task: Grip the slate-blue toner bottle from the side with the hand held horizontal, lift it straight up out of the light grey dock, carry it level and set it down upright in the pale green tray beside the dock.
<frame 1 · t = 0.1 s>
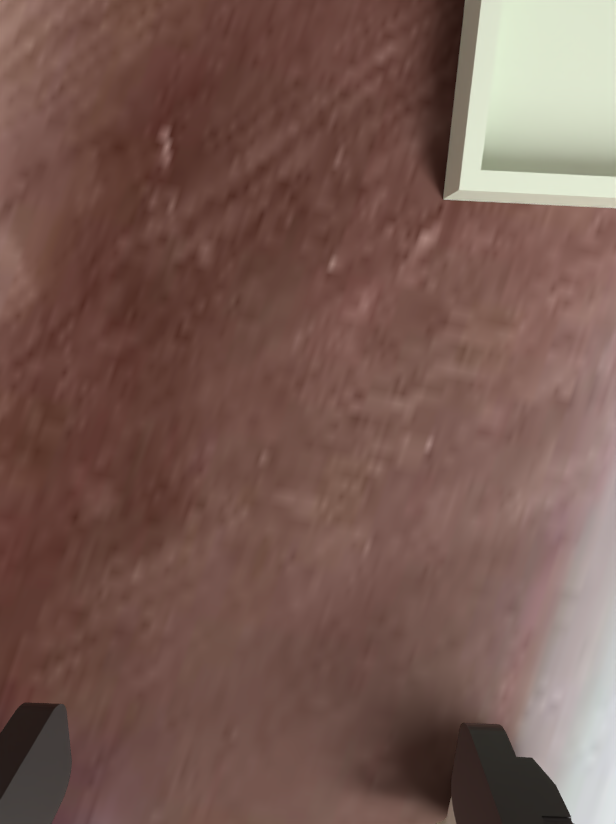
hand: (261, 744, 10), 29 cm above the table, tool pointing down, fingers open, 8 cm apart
tray: (614, 41, 32), on the table
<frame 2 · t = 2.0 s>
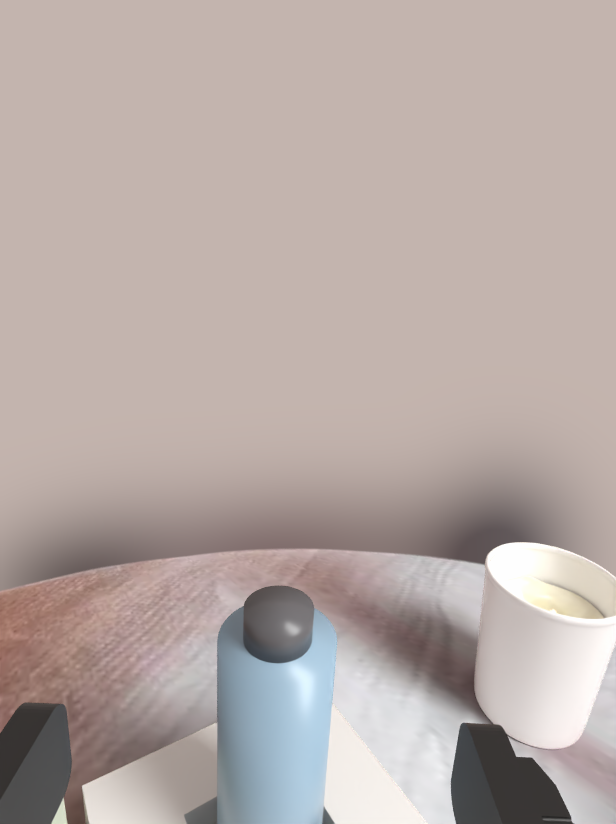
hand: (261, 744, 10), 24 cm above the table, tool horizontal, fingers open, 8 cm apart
candle holder: (525, 705, 40), on the table
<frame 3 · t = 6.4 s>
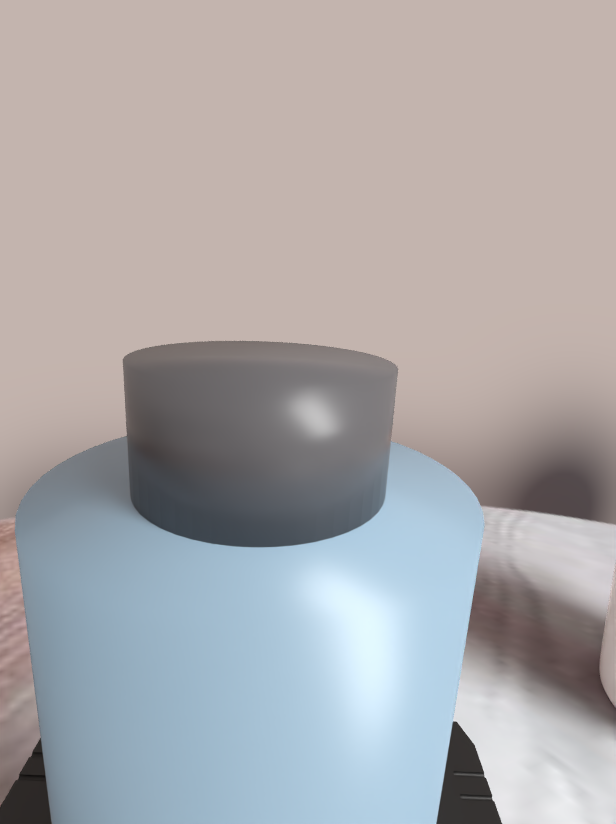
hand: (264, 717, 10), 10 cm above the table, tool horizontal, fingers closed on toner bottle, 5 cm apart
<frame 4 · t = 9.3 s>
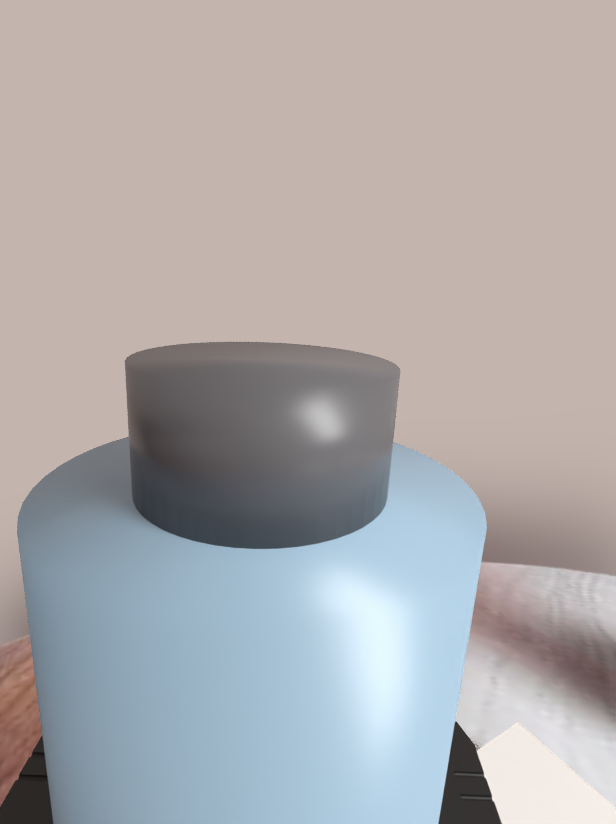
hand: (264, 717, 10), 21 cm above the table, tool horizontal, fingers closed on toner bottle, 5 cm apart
when the fingers open (11 cm above the table, at t = 12.5 s): toner bottle drops 1 cm, resting on tray.
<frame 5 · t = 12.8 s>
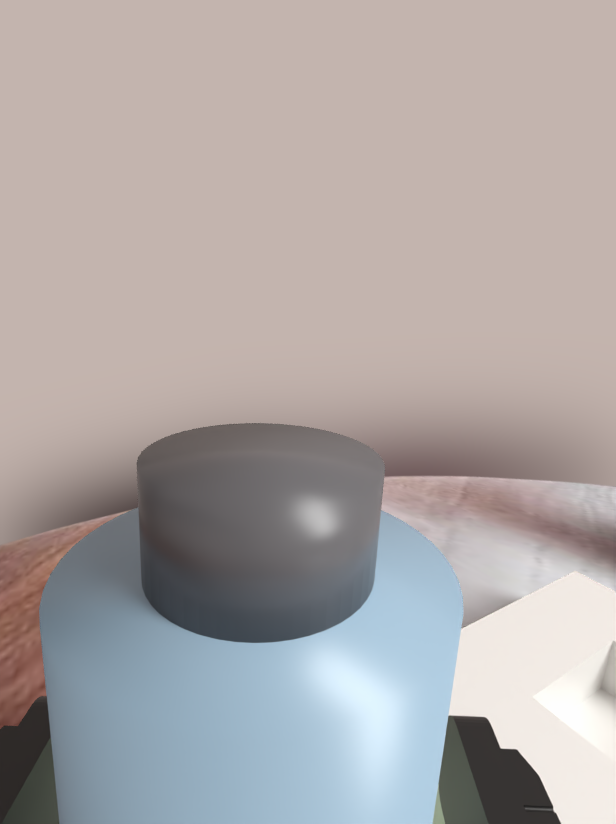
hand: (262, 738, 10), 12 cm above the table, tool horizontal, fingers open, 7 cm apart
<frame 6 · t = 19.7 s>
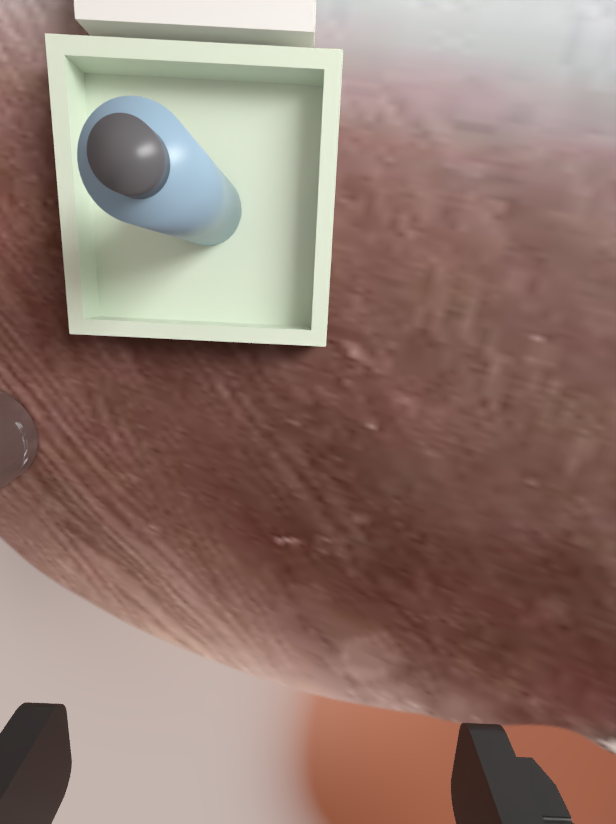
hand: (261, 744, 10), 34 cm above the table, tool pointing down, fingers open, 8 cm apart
toner bottle: (206, 208, 38), point 1 cm above the table, touching tray
tray: (207, 209, 39), on the table
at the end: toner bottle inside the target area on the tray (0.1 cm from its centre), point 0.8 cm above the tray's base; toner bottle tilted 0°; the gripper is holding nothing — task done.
